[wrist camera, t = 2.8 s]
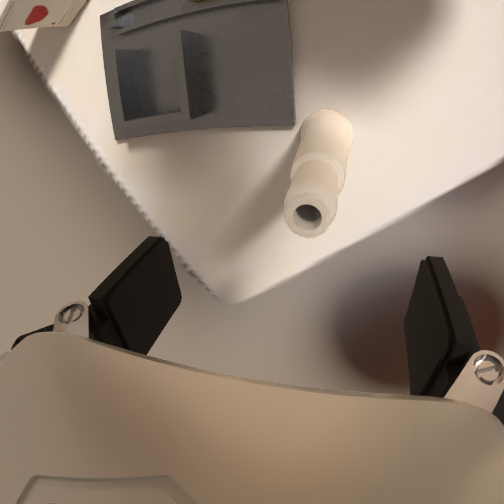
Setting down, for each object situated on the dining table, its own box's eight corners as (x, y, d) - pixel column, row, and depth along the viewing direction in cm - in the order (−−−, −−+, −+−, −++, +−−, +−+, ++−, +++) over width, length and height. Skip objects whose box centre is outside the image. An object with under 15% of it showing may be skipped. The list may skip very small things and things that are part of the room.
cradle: (283, -31, 22) (274, -46, 18) (296, 123, 32) (289, 131, 28) (104, 16, 29) (80, 14, 25) (119, 138, 39) (97, 147, 35)
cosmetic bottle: (301, 159, 35) (250, 265, 17) (299, 108, 31) (241, 154, 14) (352, 162, 33) (362, 275, 15) (353, 111, 30) (376, 160, 12)
